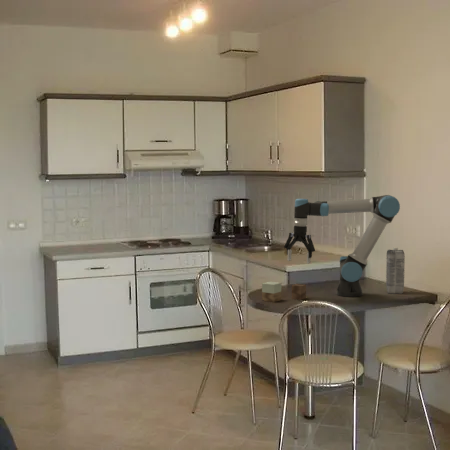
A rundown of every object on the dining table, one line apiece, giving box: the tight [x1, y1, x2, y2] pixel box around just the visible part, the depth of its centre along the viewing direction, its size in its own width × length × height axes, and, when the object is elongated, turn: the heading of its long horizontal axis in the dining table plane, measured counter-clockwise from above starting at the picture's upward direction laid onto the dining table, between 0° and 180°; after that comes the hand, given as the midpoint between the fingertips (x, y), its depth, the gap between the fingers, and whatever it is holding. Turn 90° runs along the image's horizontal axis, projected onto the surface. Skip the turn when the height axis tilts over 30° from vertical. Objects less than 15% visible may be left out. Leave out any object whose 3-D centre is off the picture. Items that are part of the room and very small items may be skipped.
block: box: [291, 283, 307, 301], centre depth 412 cm, size 6×6×8 cm
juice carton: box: [385, 247, 406, 295], centre depth 429 cm, size 9×10×27 cm
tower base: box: [261, 291, 282, 303], centre depth 408 cm, size 8×8×5 cm
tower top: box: [261, 281, 282, 294], centre depth 408 cm, size 8×8×5 cm
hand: (298, 262), depth 412 cm, fingers open, 13 cm apart
